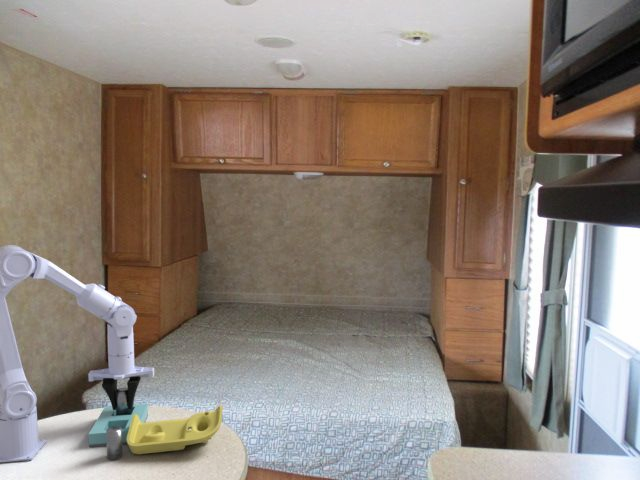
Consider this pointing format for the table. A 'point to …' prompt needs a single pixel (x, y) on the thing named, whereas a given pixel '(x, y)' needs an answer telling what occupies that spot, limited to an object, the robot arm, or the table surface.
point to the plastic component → (172, 432)
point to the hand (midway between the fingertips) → (123, 407)
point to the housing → (115, 423)
